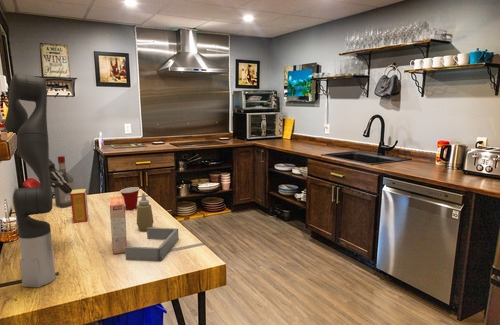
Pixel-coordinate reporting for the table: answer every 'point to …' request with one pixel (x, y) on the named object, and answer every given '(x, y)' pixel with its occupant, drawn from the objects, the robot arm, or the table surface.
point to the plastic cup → (130, 197)
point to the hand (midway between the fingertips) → (69, 191)
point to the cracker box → (118, 224)
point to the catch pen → (149, 252)
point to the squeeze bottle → (144, 214)
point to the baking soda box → (79, 205)
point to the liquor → (60, 196)
